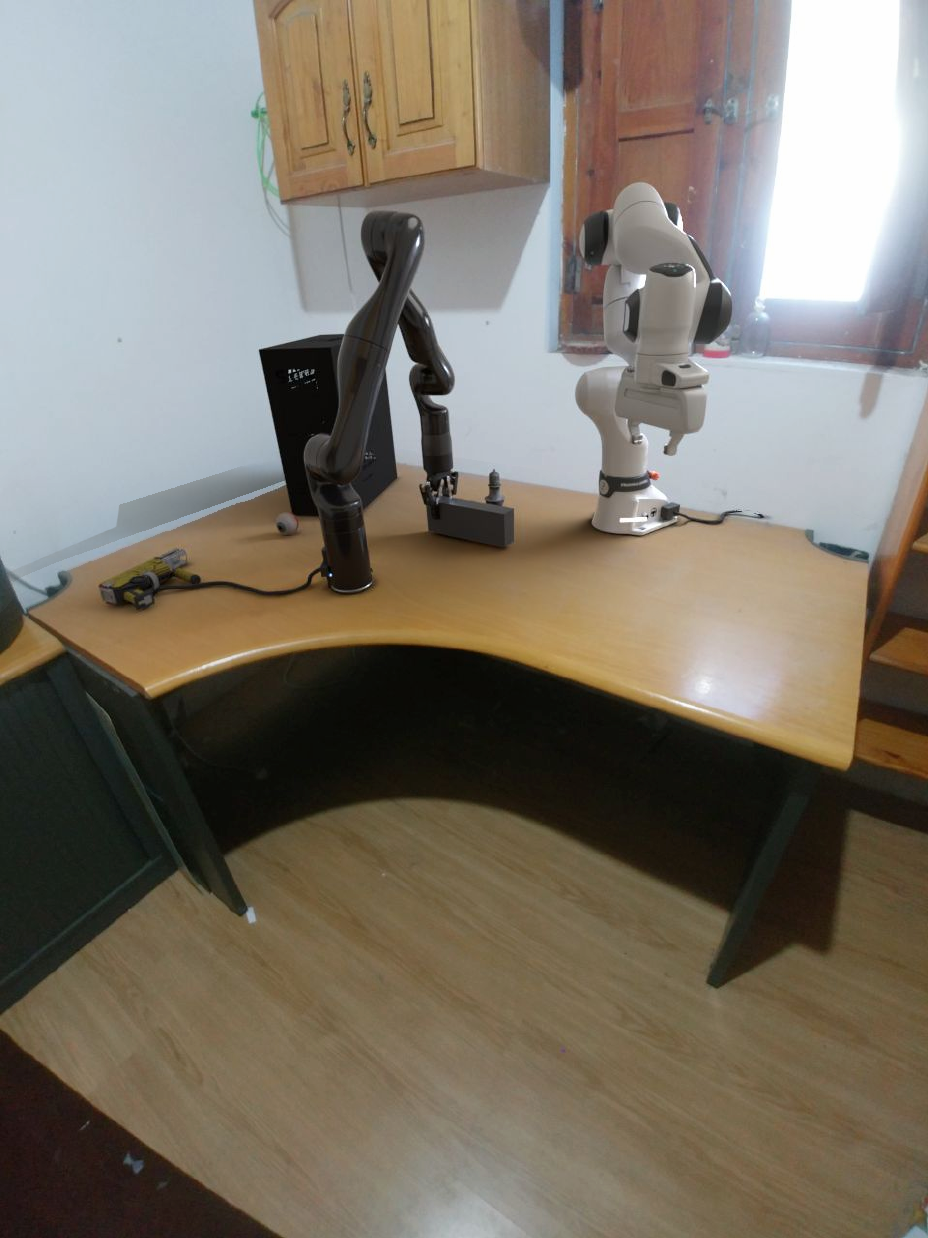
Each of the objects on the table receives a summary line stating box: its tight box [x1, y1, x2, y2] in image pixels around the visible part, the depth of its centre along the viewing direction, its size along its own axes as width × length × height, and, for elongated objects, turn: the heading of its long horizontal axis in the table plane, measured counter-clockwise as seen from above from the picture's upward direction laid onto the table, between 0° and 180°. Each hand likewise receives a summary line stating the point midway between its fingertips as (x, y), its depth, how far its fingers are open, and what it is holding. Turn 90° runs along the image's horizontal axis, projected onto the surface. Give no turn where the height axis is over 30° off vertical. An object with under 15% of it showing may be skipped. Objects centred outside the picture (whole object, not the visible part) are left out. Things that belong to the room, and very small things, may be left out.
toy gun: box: [98, 547, 202, 611], centre depth 139 cm, size 5×24×15 cm
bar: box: [425, 495, 515, 549], centre depth 152 cm, size 24×5×9 cm, turn 55°
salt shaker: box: [484, 468, 506, 506], centre depth 170 cm, size 6×6×12 cm
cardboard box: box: [258, 333, 398, 517], centre depth 181 cm, size 38×20×45 cm, turn 167°
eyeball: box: [275, 511, 300, 536], centre depth 163 cm, size 6×6×6 cm
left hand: (441, 515), depth 157 cm, fingers closed on bar, 4 cm apart
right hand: (652, 449), depth 113 cm, fingers open, 8 cm apart
